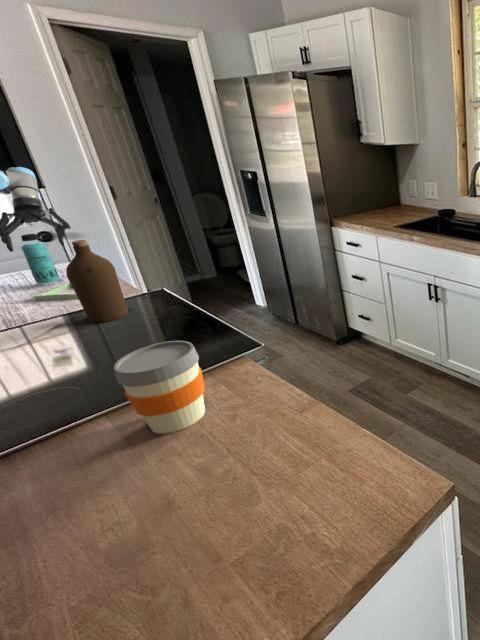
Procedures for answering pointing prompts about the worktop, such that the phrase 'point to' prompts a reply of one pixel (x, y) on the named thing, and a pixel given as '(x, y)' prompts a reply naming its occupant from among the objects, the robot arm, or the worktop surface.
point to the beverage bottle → (39, 260)
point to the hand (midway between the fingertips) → (36, 246)
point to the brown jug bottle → (96, 285)
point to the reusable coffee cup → (164, 384)
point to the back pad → (49, 294)
